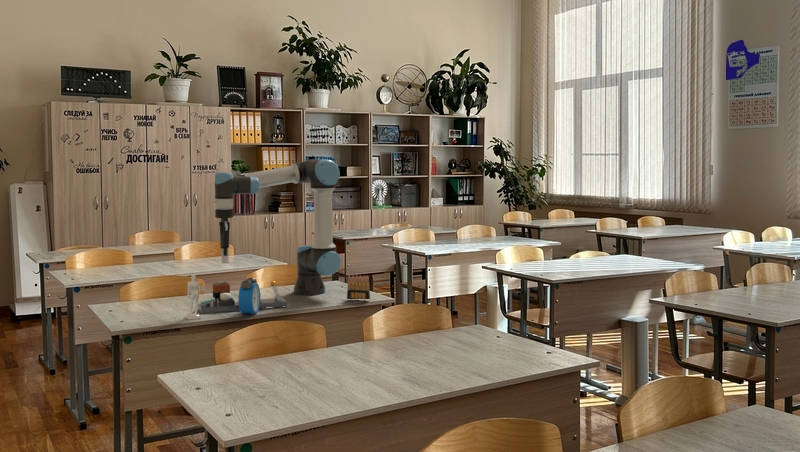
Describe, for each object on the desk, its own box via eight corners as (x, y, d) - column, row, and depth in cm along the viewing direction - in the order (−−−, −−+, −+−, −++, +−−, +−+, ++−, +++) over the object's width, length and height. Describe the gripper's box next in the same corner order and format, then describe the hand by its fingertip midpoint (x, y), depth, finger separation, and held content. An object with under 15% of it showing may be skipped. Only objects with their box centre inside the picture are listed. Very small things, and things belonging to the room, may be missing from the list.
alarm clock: (252, 317, 306) (251, 281, 304) (237, 317, 306) (237, 281, 305) (260, 310, 319) (260, 276, 317) (246, 310, 319) (246, 276, 318)
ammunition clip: (346, 300, 341) (346, 274, 339) (348, 299, 342) (348, 274, 341) (369, 301, 338) (369, 275, 337) (370, 300, 340) (370, 275, 338)
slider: (259, 298, 328) (259, 292, 328) (260, 299, 326) (260, 293, 326) (255, 299, 328) (255, 292, 327) (256, 300, 326) (256, 293, 325)
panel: (282, 303, 334) (282, 292, 333) (287, 307, 325) (287, 296, 325) (198, 309, 320) (198, 298, 320) (201, 313, 312) (200, 302, 311)
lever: (279, 296, 330) (274, 279, 328) (280, 297, 327) (275, 280, 326) (274, 298, 329) (269, 281, 327) (275, 299, 326) (270, 282, 325)
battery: (230, 303, 332) (230, 282, 331) (215, 305, 329) (215, 283, 327) (227, 302, 336) (226, 280, 335) (212, 303, 332) (212, 281, 331)
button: (230, 299, 323) (229, 292, 322) (231, 301, 318) (231, 294, 318) (219, 299, 321) (219, 293, 321) (221, 301, 317) (221, 295, 317)
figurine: (205, 315, 309) (203, 272, 308) (206, 318, 303) (205, 275, 301) (184, 316, 307) (183, 274, 305) (185, 320, 300) (183, 276, 298)
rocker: (214, 300, 320) (214, 297, 319) (215, 301, 317) (215, 298, 316) (200, 303, 318) (200, 301, 317) (201, 305, 315) (201, 302, 314)
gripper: (213, 207, 320) (214, 261, 323) (217, 209, 308) (218, 265, 311) (230, 207, 323) (231, 260, 325) (235, 209, 311) (236, 264, 313)
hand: (225, 262), depth 318 cm, fingers closed
